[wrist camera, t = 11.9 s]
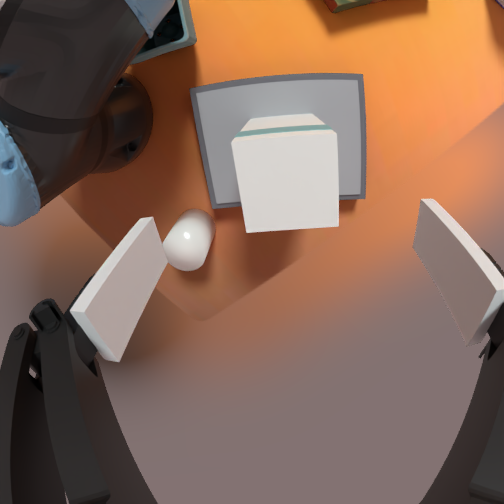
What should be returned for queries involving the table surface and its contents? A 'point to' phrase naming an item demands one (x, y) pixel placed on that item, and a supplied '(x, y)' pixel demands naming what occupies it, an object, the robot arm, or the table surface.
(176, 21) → the flower pot
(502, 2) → the supplement box
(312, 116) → the carton
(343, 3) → the carton
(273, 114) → the podium
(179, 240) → the white rounded capsule
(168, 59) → the table surface
